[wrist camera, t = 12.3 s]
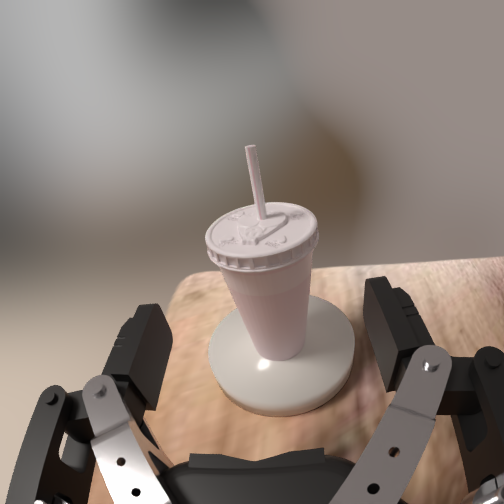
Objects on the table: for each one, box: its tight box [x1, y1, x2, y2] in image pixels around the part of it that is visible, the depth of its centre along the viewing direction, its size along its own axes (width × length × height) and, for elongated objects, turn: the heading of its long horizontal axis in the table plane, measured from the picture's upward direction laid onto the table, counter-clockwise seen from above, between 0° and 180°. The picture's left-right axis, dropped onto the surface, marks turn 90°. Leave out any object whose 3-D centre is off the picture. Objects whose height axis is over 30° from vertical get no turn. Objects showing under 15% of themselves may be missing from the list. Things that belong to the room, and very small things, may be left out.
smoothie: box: [205, 145, 319, 361], centre depth 19 cm, size 6×6×14 cm
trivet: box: [208, 295, 355, 417], centre depth 23 cm, size 11×11×2 cm
